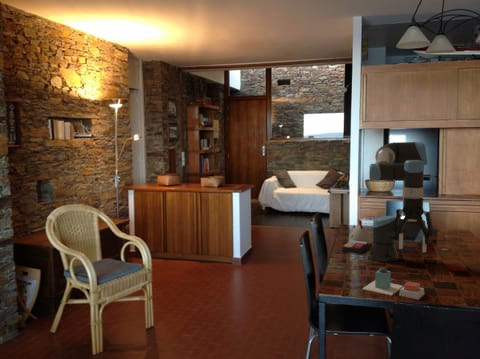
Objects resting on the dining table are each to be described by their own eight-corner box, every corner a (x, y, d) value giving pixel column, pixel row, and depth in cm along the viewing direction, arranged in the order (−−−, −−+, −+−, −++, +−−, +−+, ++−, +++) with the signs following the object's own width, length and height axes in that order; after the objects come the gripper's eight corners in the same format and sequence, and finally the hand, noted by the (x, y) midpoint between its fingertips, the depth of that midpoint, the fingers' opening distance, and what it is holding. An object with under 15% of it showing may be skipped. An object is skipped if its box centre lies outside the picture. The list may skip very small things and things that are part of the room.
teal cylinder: (379, 284, 200) (379, 266, 200) (390, 286, 197) (390, 268, 197) (375, 287, 197) (375, 268, 196) (386, 289, 193) (386, 270, 193)
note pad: (374, 281, 206) (375, 280, 206) (402, 286, 198) (402, 285, 198) (362, 289, 196) (362, 288, 196) (391, 295, 187) (391, 294, 187)
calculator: (342, 245, 261) (351, 239, 274) (342, 252, 262) (351, 246, 274) (360, 248, 255) (368, 241, 267) (360, 255, 256) (368, 248, 268)
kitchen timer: (369, 241, 284) (369, 218, 283) (373, 246, 270) (374, 222, 269) (347, 241, 285) (347, 218, 284) (350, 246, 272) (350, 222, 270)
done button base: (405, 290, 194) (405, 284, 193) (424, 294, 189) (424, 288, 188) (399, 295, 187) (399, 289, 187) (418, 299, 182) (418, 293, 182)
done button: (407, 285, 191) (408, 281, 191) (419, 288, 188) (419, 283, 188) (403, 288, 187) (404, 284, 187) (416, 291, 184) (416, 286, 184)
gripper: (384, 196, 188) (383, 248, 190) (438, 200, 174) (437, 256, 176) (391, 194, 194) (390, 244, 196) (443, 198, 180) (442, 252, 182)
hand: (412, 250), depth 186 cm, fingers open, 9 cm apart
